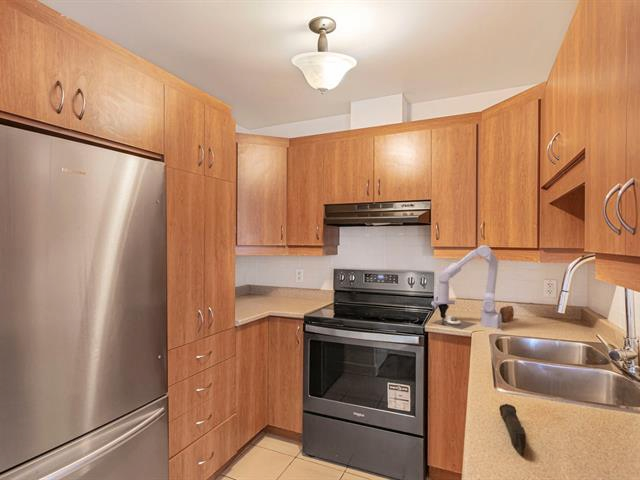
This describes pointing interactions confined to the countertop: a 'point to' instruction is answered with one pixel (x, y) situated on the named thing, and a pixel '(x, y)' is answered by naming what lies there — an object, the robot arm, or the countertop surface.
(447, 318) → the dial
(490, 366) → the countertop surface
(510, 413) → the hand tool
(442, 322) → the dial plate
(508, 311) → the brown slab
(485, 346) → the countertop surface
